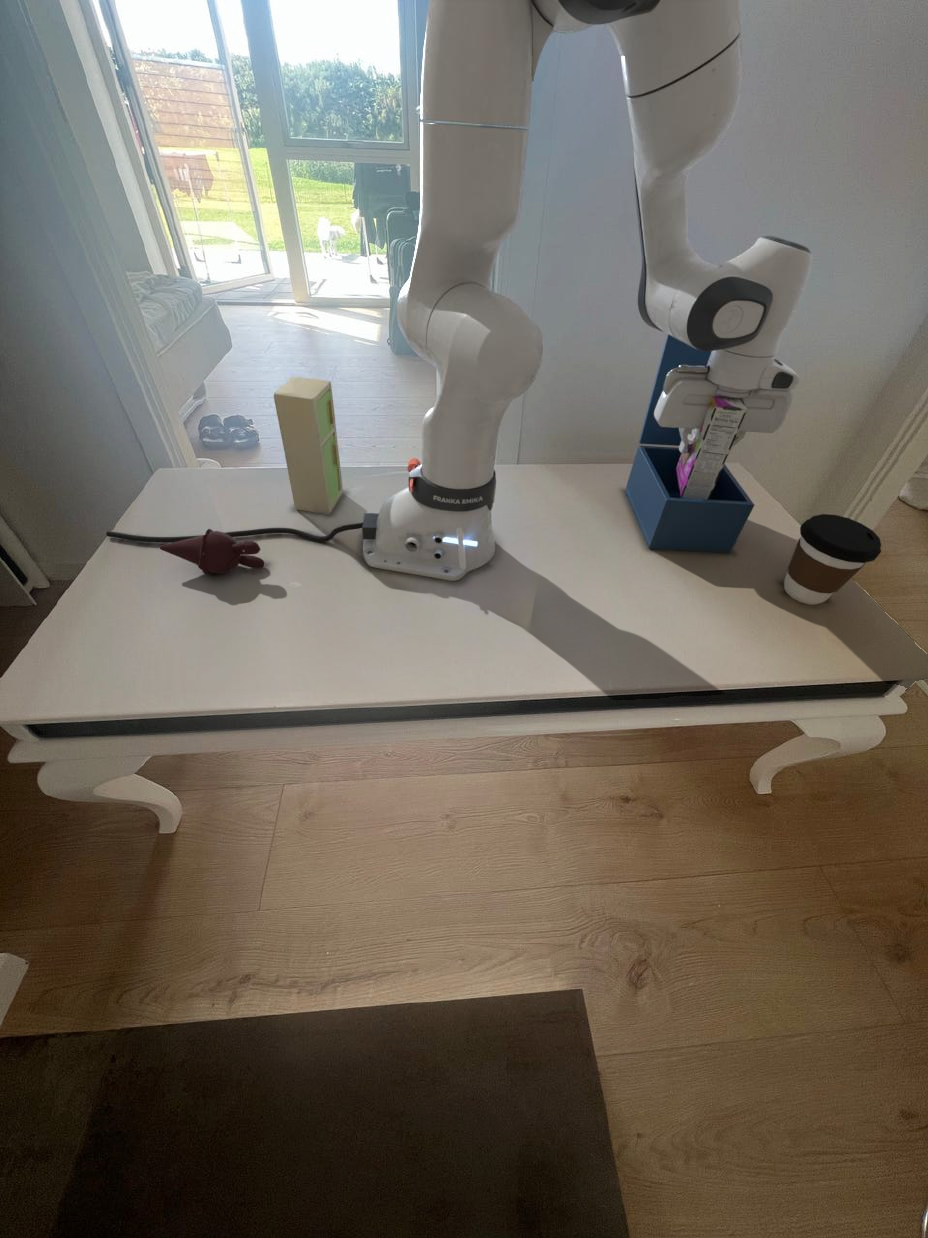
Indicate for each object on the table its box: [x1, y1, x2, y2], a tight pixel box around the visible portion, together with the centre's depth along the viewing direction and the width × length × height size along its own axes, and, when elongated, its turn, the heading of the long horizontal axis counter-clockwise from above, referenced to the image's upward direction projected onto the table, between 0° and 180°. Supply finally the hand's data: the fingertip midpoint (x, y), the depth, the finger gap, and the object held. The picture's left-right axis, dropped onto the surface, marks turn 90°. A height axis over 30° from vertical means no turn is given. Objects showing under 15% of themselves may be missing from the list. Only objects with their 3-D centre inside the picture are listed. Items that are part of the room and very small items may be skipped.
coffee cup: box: [783, 513, 882, 606], centre depth 82 cm, size 11×11×12 cm
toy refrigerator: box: [273, 375, 344, 515], centre depth 90 cm, size 8×7×21 cm
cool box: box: [624, 445, 755, 554], centre depth 96 cm, size 20×15×10 cm
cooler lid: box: [638, 333, 711, 447], centre depth 95 cm, size 21×15×5 cm
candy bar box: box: [676, 397, 747, 500], centre depth 88 cm, size 11×5×16 cm, turn 168°
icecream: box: [159, 528, 265, 576], centre depth 80 cm, size 7×7×15 cm
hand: (703, 452), depth 89 cm, fingers closed on candy bar box, 5 cm apart
